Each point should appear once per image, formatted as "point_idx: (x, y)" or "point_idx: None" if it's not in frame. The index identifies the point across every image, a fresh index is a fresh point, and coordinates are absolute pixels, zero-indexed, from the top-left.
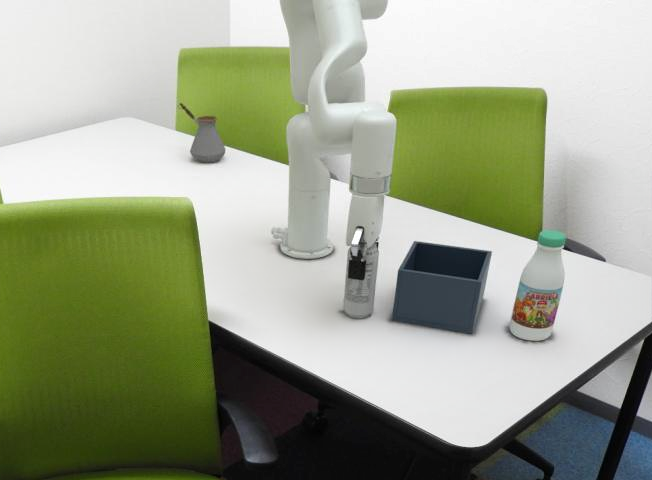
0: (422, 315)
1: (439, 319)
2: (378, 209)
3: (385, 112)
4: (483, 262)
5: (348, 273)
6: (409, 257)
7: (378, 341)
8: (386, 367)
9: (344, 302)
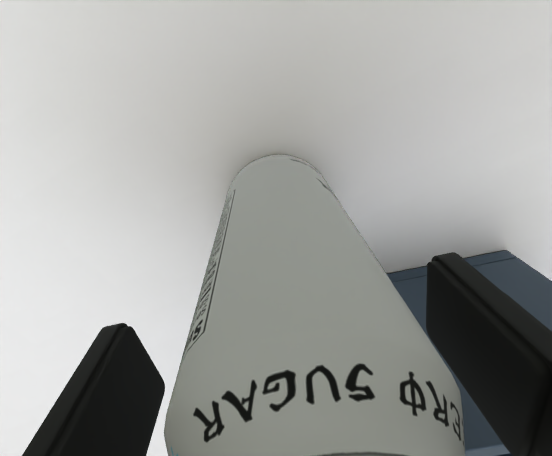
0: None
1: None
2: None
3: None
4: None
5: (90, 350)
6: (488, 454)
7: (163, 312)
8: (74, 367)
9: (238, 180)
